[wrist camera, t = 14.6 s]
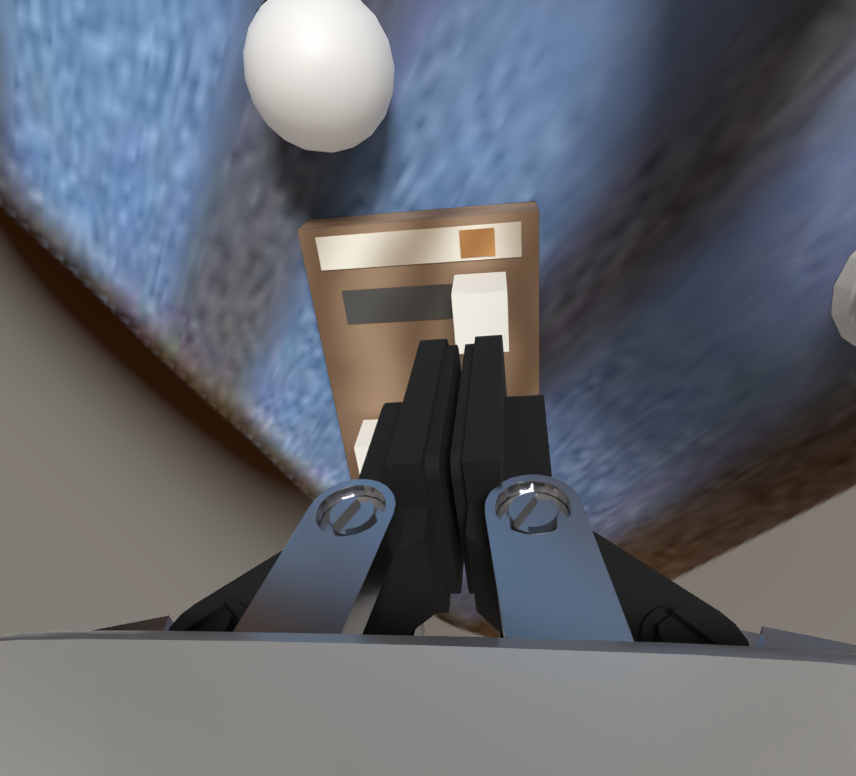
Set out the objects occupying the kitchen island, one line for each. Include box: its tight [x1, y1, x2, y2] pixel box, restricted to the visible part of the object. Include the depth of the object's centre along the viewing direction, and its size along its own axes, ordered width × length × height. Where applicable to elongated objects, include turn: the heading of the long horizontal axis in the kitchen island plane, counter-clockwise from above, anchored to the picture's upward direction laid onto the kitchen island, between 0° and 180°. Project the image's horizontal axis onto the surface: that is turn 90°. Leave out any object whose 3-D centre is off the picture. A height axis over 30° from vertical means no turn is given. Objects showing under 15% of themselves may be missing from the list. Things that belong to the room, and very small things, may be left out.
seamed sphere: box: [202, 0, 394, 153], centre depth 28 cm, size 10×7×7 cm
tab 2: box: [451, 272, 509, 354], centre depth 32 cm, size 3×4×3 cm
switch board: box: [297, 201, 539, 480], centre depth 38 cm, size 14×20×3 cm
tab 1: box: [354, 419, 378, 474], centre depth 38 cm, size 3×4×3 cm
